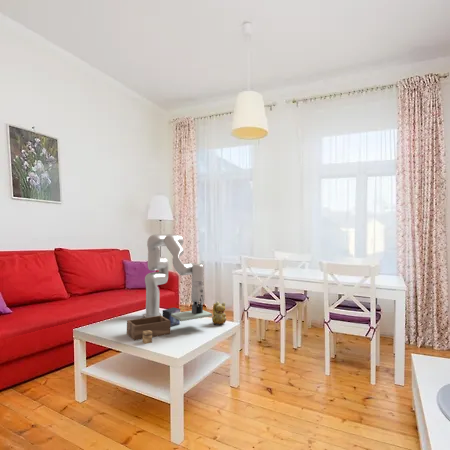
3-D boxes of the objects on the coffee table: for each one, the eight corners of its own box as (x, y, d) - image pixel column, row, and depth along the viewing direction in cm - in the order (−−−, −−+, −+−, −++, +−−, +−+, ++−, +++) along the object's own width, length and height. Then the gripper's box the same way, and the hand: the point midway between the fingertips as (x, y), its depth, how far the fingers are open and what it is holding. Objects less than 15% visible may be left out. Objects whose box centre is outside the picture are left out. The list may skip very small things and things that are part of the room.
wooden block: (149, 340, 183) (149, 329, 183) (152, 342, 180) (152, 331, 180) (142, 341, 181) (142, 331, 181) (145, 344, 177) (145, 333, 177)
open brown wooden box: (126, 333, 194) (126, 320, 194) (160, 327, 206) (161, 315, 206) (134, 340, 182) (134, 326, 182) (170, 333, 195) (170, 320, 195)
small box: (168, 328, 206) (168, 311, 206) (161, 326, 210) (161, 310, 210) (180, 324, 215) (180, 308, 215) (173, 322, 219) (173, 307, 219)
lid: (171, 316, 204) (171, 305, 204) (201, 311, 216) (201, 301, 216) (181, 321, 192) (181, 310, 192) (212, 316, 204) (212, 305, 205)
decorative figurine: (226, 322, 219) (227, 300, 220) (225, 326, 211) (225, 303, 211) (212, 322, 221) (213, 300, 221) (210, 325, 212) (211, 303, 213)
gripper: (209, 284, 202) (209, 314, 202) (196, 281, 216) (196, 308, 215) (199, 285, 198) (198, 316, 197) (186, 282, 211) (186, 310, 211)
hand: (197, 312), depth 206 cm, fingers closed on lid, 3 cm apart
